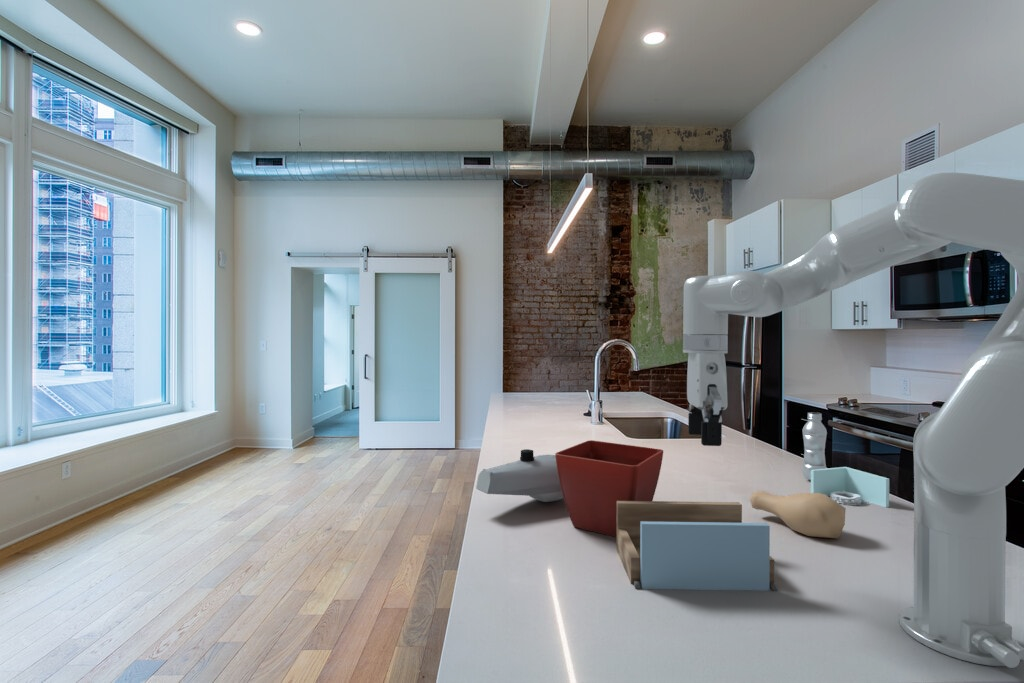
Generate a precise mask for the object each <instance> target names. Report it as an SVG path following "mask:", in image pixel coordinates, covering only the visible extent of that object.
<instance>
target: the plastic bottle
mask: <svg viewBox="0 0 1024 683" xmlns="http://www.w3.org/2000/svg"><path fill="white" fill-rule="evenodd" d="M822 415H823V414H822V413H820V412H807V421H806V423H805V424H804V426H803V428H802V429H801V430H802V439H803V450H804V451H803V452H804V454H803V463H802V468H801V470H802V472H801V473H802V475H803V477H804V478H805V479H807V480H810V481H811V470H815V469H827V465H826V455H825V452H826V451H825V449H826V442H827V435H828V432H827V428H826V426H825V425H824V424H823V422H822V420H823V417H822Z"/></svg>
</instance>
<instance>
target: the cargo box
mask: <svg viewBox="0 0 1024 683" xmlns="http://www.w3.org/2000/svg"><path fill="white" fill-rule="evenodd" d="M640 521H648V522H723V523H743V505H742V503H740V502H737V501H671V500H669V501H665V500H664V501H663V500H661V501H659V500H656V501H655V500H652V501H617V505H616V537H615V538H616V539H615V540H616V545H615V547H616V552H617V554H618V557H619V559H620V562H621V563H622V566H623V568H624V571H625V573H626V575H627V576H626V577H627V578H628V581H629V583H630V585H633V586H634V589H635V590H641V586H640ZM769 591H772V592H778V589H777V585H776V584H775V559H774V558H773V557H772V556H771V555H770V571H769Z"/></svg>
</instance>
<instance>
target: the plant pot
mask: <svg viewBox="0 0 1024 683" xmlns="http://www.w3.org/2000/svg"><path fill="white" fill-rule="evenodd" d="M554 455H555V456H556V464H557V470H558V476H559V481H560V485H561V490H562V494H563V497H564V498H563V500H564V504H565V507H566V510H567V513H568V516H569V519H570V522H571V524H572V525H573V527H575V528H578V529H581V530H585V531H590V532H593V533H598V534H603V535H606V536H609V537H610V536H611V537H614V538H616V505H617V501H654V496H655V494H656V491H657V490H656V489H657V486H658V483H659V477H660V474H661V469H662V464H663V458H664V450H663V449H661V448H654V447H646V446H640V445H638V446H637V445H631V444H622V443H615V442H610V441H609V442H608V441H600V440H586V441H583V442H580V443H578V444H576V445H574V446H571V447H570V446H569V447H568V448H565V449H563V450H560V451H557V452H556V453H554Z"/></svg>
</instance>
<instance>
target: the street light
mask: <svg viewBox="0 0 1024 683" xmlns="http://www.w3.org/2000/svg"><path fill="white" fill-rule="evenodd" d="M476 482H477V483H476V486H475V487H476V490H477V491H479V492H483V493H485V494H487V495H501V496H503V495H505V496H506V495H507V496H525V497H527V496H528V497H530V498H532V499H534V500H537V501H539V502H543V503H549V502H556V501H559V500H561V499H564V497H563V494H562V490H561V485H560V481H559V476H558V470H557V464H556V456H555V454H540V455H535V456H534V450H532V449H527V448H526V449H525V448H524V449H522V450H520V457H519V460H515V461H512V462H507V463H504V464H501V465H498V466H493V467H490V468H487V469H486V468H483V469H482V470H481V471H480V472H479V474H478V476H477V481H476Z"/></svg>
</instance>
